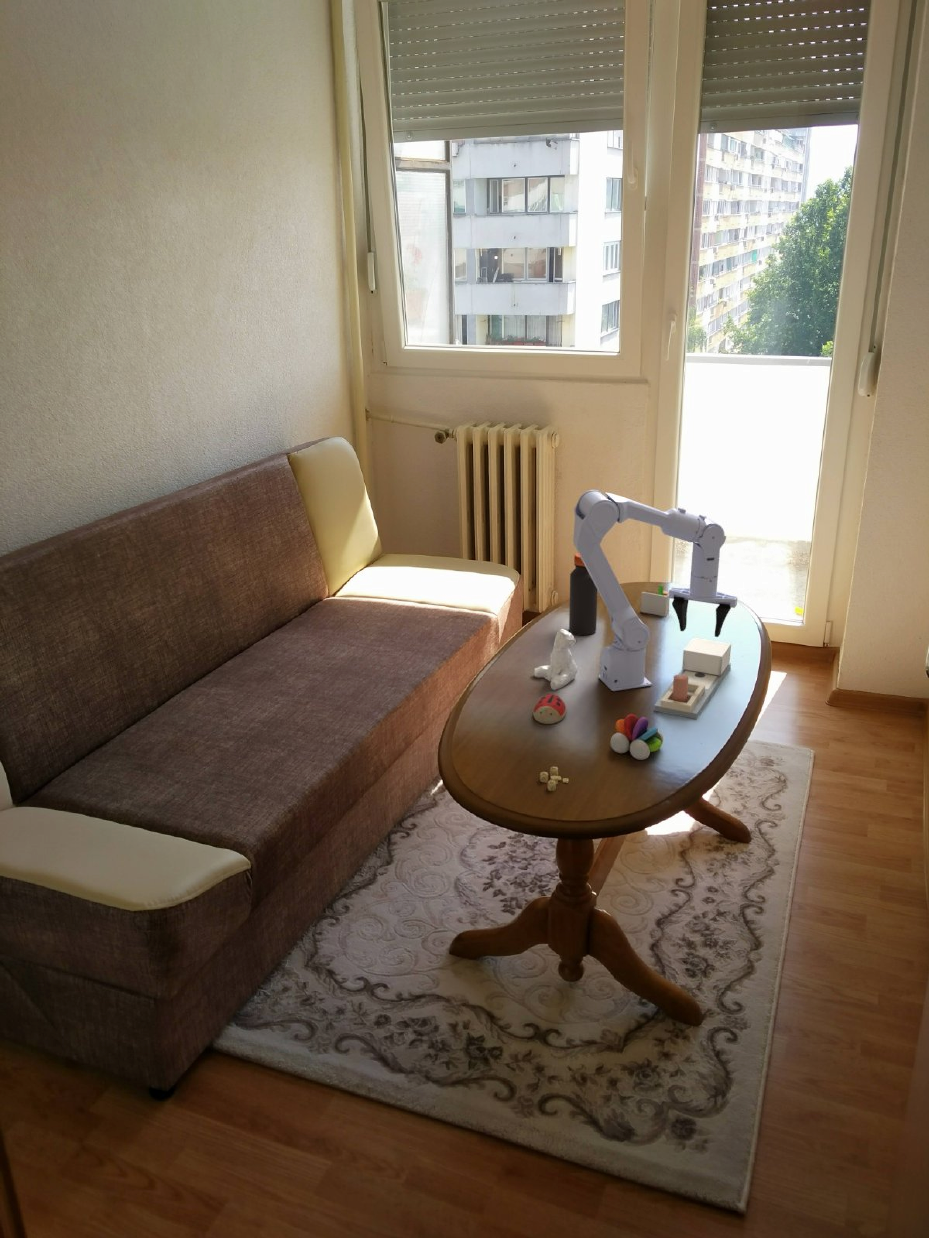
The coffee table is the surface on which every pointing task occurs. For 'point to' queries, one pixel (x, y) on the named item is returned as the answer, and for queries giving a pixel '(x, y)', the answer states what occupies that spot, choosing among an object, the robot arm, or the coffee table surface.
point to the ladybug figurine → (549, 709)
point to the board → (691, 694)
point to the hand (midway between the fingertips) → (700, 632)
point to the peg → (680, 688)
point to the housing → (706, 656)
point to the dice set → (552, 778)
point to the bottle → (582, 600)
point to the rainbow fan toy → (636, 737)
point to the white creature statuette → (559, 662)
